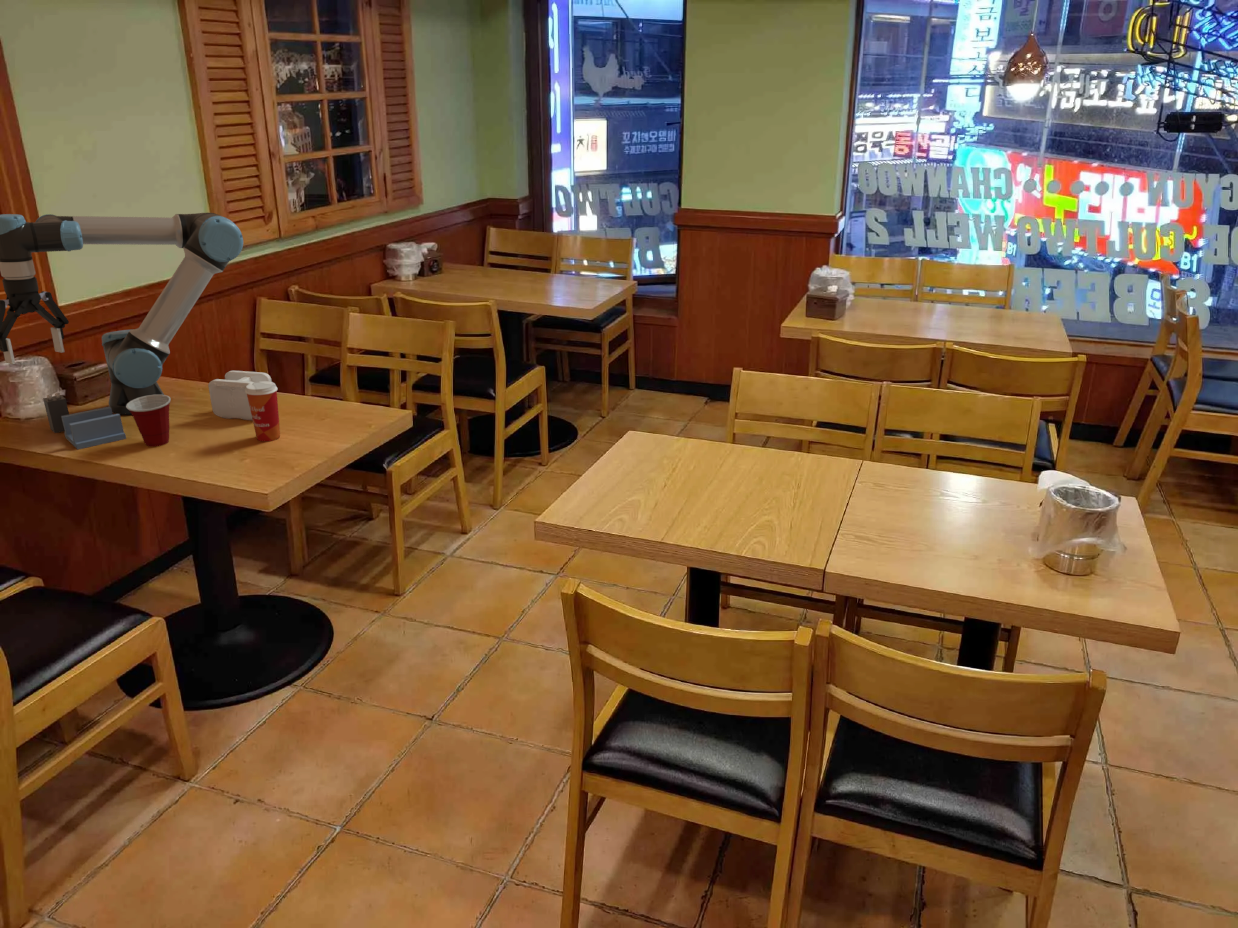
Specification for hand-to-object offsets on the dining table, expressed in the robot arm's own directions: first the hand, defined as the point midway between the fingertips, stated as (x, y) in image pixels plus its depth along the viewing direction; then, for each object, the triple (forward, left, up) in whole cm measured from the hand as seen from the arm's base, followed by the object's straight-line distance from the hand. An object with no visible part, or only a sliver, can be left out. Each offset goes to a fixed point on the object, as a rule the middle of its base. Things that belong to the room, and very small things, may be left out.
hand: (35, 357), depth 244 cm
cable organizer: (-46, +18, -22) cm, 54 cm away
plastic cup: (-19, +25, -22) cm, 38 cm away
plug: (-3, -4, -22) cm, 23 cm away
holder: (-8, +10, -22) cm, 25 cm away
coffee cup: (-43, +41, -22) cm, 63 cm away
